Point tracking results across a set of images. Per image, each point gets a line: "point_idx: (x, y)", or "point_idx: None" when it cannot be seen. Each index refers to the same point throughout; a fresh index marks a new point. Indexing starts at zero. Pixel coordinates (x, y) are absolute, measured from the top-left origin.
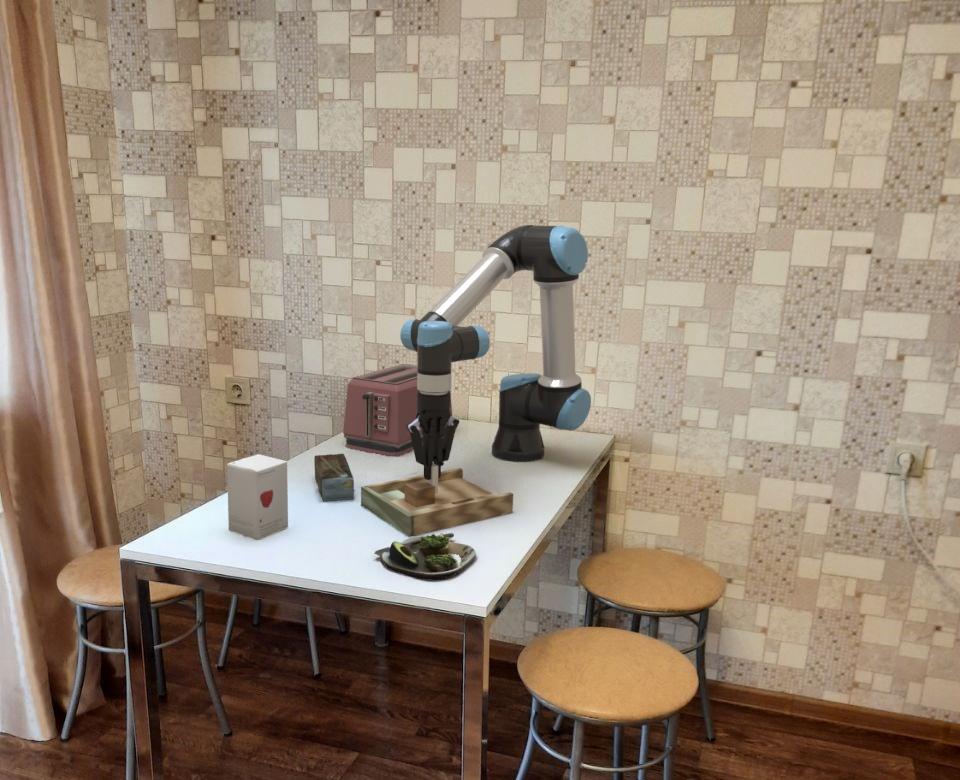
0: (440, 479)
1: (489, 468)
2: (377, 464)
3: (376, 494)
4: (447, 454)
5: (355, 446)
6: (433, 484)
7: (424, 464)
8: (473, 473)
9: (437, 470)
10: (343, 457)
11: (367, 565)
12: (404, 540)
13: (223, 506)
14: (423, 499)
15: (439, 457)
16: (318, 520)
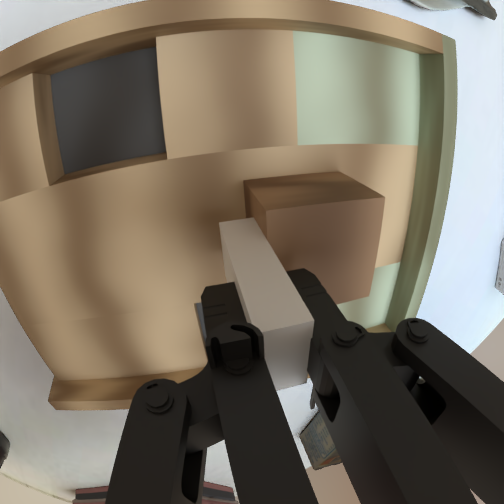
0: (126, 382)
1: (3, 407)
2: (217, 462)
3: (422, 281)
4: (152, 439)
5: (226, 490)
6: (261, 242)
7: (401, 324)
8: (31, 404)
9: (254, 303)
10: (331, 459)
11: (495, 10)
12: (442, 8)
13: (481, 336)
14: (317, 182)
15: (261, 406)
16: (470, 253)
